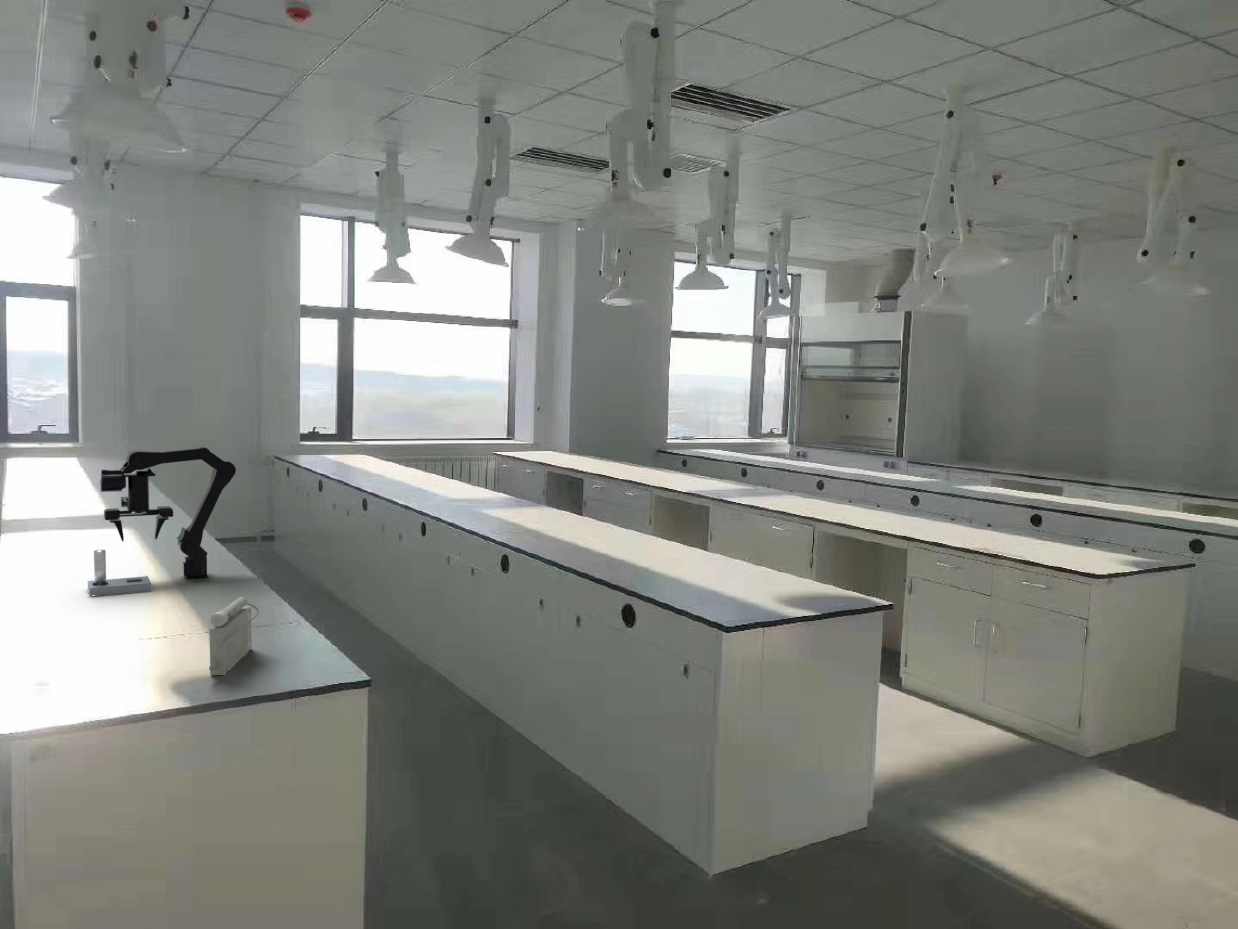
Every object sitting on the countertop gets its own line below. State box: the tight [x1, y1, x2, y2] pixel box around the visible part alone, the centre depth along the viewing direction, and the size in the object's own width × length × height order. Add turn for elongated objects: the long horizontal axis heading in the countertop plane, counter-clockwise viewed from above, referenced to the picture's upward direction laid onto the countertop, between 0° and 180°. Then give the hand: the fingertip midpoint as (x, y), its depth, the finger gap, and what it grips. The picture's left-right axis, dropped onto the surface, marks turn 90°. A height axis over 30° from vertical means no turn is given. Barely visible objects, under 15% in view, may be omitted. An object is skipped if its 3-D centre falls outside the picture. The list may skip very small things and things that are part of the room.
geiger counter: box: [208, 596, 260, 675], centre depth 209 cm, size 14×6×25 cm
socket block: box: [87, 575, 152, 597], centre depth 273 cm, size 16×10×2 cm, turn 123°
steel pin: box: [93, 549, 107, 586], centre depth 270 cm, size 3×3×12 cm
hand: (139, 540), depth 283 cm, fingers open, 9 cm apart
